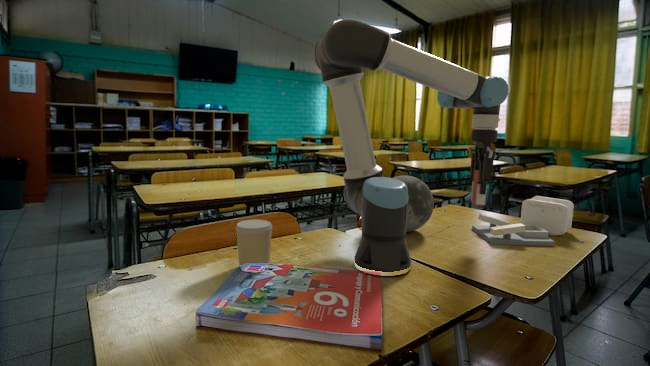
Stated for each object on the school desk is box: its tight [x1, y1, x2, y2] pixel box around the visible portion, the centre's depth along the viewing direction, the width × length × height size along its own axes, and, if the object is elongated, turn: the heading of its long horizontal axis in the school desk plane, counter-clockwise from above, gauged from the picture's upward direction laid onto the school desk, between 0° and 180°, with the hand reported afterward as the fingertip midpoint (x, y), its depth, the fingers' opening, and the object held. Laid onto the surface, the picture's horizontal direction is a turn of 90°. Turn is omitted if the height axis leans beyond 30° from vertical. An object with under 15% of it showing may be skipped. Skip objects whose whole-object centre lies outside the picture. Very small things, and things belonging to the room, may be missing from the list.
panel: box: [471, 223, 556, 247], centre depth 131 cm, size 20×18×4 cm
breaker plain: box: [477, 213, 511, 226], centre depth 136 cm, size 10×3×2 cm, turn 90°
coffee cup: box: [235, 218, 273, 266], centre depth 100 cm, size 9×9×12 cm
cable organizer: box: [519, 195, 575, 236], centre depth 139 cm, size 15×11×12 cm
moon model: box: [391, 174, 435, 233], centre depth 136 cm, size 20×20×20 cm
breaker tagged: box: [490, 222, 526, 236], centre depth 125 cm, size 10×3×2 cm, turn 88°
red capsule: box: [471, 170, 484, 207], centre depth 121 cm, size 4×4×11 cm
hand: (477, 202), depth 122 cm, fingers closed on red capsule, 3 cm apart
